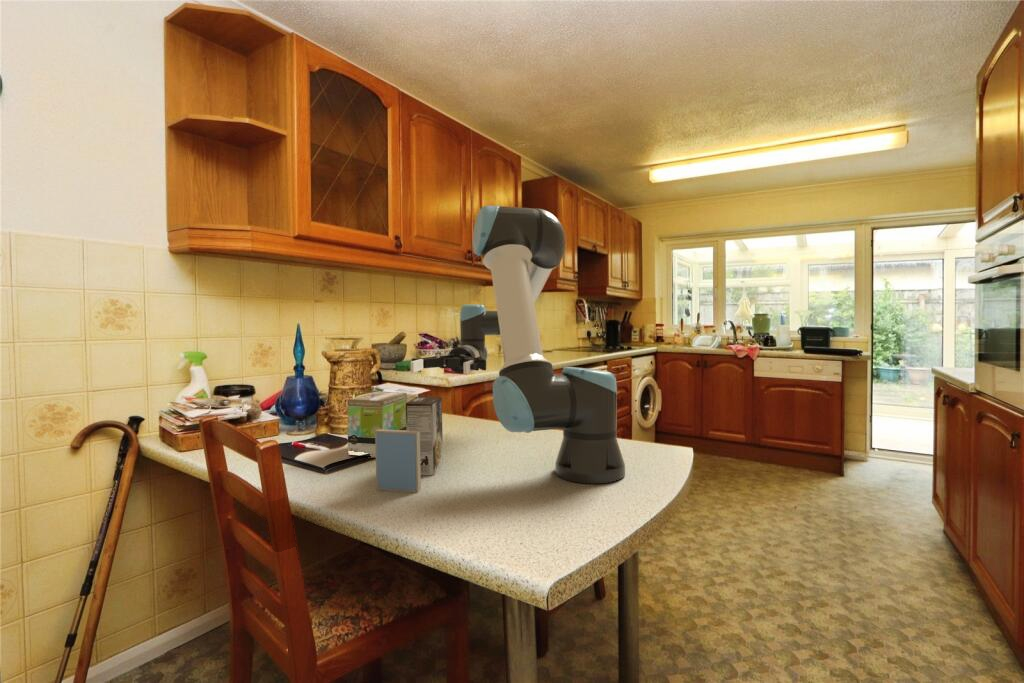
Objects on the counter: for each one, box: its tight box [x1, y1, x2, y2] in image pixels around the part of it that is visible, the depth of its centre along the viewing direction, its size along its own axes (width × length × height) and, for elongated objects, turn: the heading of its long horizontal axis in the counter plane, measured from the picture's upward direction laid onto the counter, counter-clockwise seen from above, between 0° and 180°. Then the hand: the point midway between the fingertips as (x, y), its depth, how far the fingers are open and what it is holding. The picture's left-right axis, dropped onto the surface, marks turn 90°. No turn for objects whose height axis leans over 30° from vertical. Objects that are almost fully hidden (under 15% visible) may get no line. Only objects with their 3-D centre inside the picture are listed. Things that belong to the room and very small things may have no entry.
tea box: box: [347, 391, 408, 458], centre depth 129 cm, size 15×10×15 cm, turn 168°
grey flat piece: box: [375, 429, 422, 494], centre depth 97 cm, size 9×2×12 cm, turn 77°
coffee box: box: [406, 396, 444, 476], centre depth 111 cm, size 9×6×16 cm
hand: (438, 367), depth 119 cm, fingers open, 13 cm apart
